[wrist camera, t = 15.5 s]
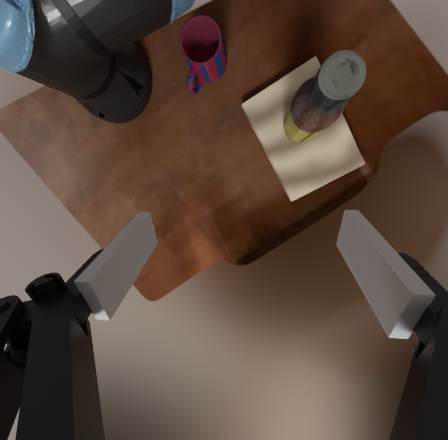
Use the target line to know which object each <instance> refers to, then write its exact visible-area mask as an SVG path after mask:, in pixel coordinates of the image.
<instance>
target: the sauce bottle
mask: <svg viewBox="0 0 448 440" xmlns="http://www.w3.org/2000/svg"><path fill="white" fill-rule="evenodd" d="M365 77H366V65H365V62H364V60H363V59H362V57H361V56H360V55H358V54H357V53H355V52H354V51H349V50H341V51H338V52H335V53H334V54H332V55H331V56H329V57H328V58H327V59H326V60H325V61H324V62H323V64H322V65H321V67H320V68H319V70H318V71H317V74H316V76H314V77H312V78H310V79H308V80H307V81H305V82H304V83H303V84H302V85H301V86H300V87H299V89H298V90H297V91H296V93H295V95H294V97H293V99H292V102H291V104H290V106H289V108H288V111H287V113H286V115H285V117H284V121H283V128H284V132H285V134H286V136H287V137H288V139H290V140H292V141H295V142H305V141H308V140H310V139H312V138H313V137H315V136H316V135H318V134H319V133H321V132H322V131H324V130H325V129H327V128H328V127H329V126H330V125H331V124H333V123H334V122H335V121H336V120H337V119H338V118H339V117H340V115H341V113H342V112H343V110H344V107H345V105H346V104H347V102H348V100H349V99H350V98H351V97H353V96H354V95H355V94H356V93H357V92H358V91H359V89H360V88H361V86H362V85H363V83H364V81H365Z"/></svg>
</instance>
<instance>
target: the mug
mask: <svg viewBox="0 0 448 440" xmlns="http://www.w3.org/2000/svg"><path fill="white" fill-rule="evenodd" d="M179 44H180V49H181V52H182V54H183V56H184V58H185V59H186V61H187V63H188V65H189V67H190V68H191V69H190V71H189V74H188V77H187V88H188V91H189V92H190V93H192V94H196V93H197V92H198V91H199V90H200V88H201V86H202V84H203V82H205V83H211V82H215V81H216V80H218V79H219V78H220V77H221V76H222V75H223V73H224V71H225V69H226V64H227V58H226V53H225V48H224V43H223V39H222V34H221V30H220V27H219V25H218V24H217V22H216V21H215V20H214V19H212V18H211V17H209V16H206V15H196V16H194V17H192V18H190V19H189V20H188V21H187V22H186V23H185V24H184V26H183V28H182V30H181V33H180V38H179ZM194 76H195V77H196V78H197V79H198V80H197V83H196V85H195V87H194V89H193V79H194Z"/></svg>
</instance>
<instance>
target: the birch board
mask: <svg viewBox="0 0 448 440" xmlns="http://www.w3.org/2000/svg"><path fill="white" fill-rule="evenodd" d="M320 67H321V66H320V63H319V61H318V59H317V57H316V56H315V57H313V58H312V59H310V60H309V61H307V62H306V63H304V64H303V65H301V66H300V67H298V68H296V69H295V70H293V71H292V72H290V73H289V74H287V75H286V76H284V77H283V78H281V79H280V80H278V81H276V82H275V83H273V84H272V85H270V86H269V87H267V88H266V89H264V90H263V91H261V92H260V93H258V94H256V95H255V96H253V97H252V98H250V99H249V100H247V101H246V102H244V103H243V104H242V108H243V110H244V112H245V114H246V116H247V118H248V120H249V122H250V124H251V126H252V128H253V130H254V132H255V134H256V135H257V137H258V139H259V141H260V143H261V145H262V147H263V149H264V151H265V153H266V155H267V157H268V159H269V161H270V163H271V165H272V166H273V168H274V170H275V172H276V174H277V176H278V178H279V180H280V182H281V184H282V186H283V188H284V190H285V192H286V194H287V196H288V198H289V199H290V201H294V200H296V199H298V198H300V197H302V196H304V195H306V194H308V193H310V192H311V191H313V190H315V189H317V188H319V187H321V186H323V185H325V184H327V183H329V182H331V181H333V180H335V179H337V178H339V177H341V176H343V175H345V174H346V173H348V172H350V171H352V170H354V169H356V168H358V167H360V166H362V165H364V164H365V162H364V160H363V158H362V156H361V153H360V151H359V149H358V147H357V145H356V142H355V140H354V138H353V136H352V134H351V131H350V129H349V127H348V125H347V123H346V121H345V118H344V116H343V114H342V113H341V115H340V117H339V118H338V119H337V120H336V121H335V122H334V123H333V124H331V125H330V126H329V127H328V128H327V129H325V130H324V131H322V132H321V133H319V134H318V135H316V136H315V137H313V138H312V139H310V140H308V141H305V142H295V141H292V140H290V139H288V137H287V136H286V134H285V132H284V128H283V121H284V117H285V115H286V113H287V111H288V108H289V106H290V104H291V102H292V99H293V97H294V95H295V93H296V91H297V90H298V89H299V87H300V86H301V85H302V84H303V83H304V82H305V81H307V80H308V79H310V78H312V77H314V76H316V74H317V71H318V70H319V68H320Z"/></svg>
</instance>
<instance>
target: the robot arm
mask: <svg viewBox="0 0 448 440" xmlns="http://www.w3.org/2000/svg"><path fill="white" fill-rule="evenodd" d="M194 1H195V0H0V65H1V66H2V67H3V68H5V69H7V70H9V71H12V72H15V73H18V74H20V75H22V76H25V77H27V78H29V79H32V80H34V81H37V82H39V83H42V84H44V85H46V86H49V87H51V88H53V89H56V90H58V91H61V92H63V93H66V94H68V95H70V96H73V97H74V98H75V99H76V100H77V101H78V102H79V103H80V104H81V105H82V106H83V107H84V108H85V109H86V110H87V111H89V112H90V113H91V114H93V115H94V116H96V117H98V118H100V119H103V120H105V121H108V122H111V123H125V122H128V121H131V120H133V119H134V118H136V117H137V116H138V115H140V114H141V112H142V111H143V110H144V109H145V107H146V105H147V103H148V101H149V98H150V95H151V90H152V76H151V71H150V67H149V65H148V62H147V60H146V58H145V57H144V55H143V54H142V52H141V51H140V50H139V49H138V48H137V46H136V45H135V44H134V43H135V42H137V41H138V40H140V39H142V38H144V37H145V36H147V35H149V34H151V33H153V32H154V31H156V30H158V29H160V28H161V27H163V26H165V25H167V24H171V23H172V22H174V20H175V18H177V17H178V16H180V15H181V14H183V13H184V12H186V11H187V10H189V9H190V8H191V6H192V5H193V2H194ZM157 244H158V241H157V237H156V234H155V230H154V226H153V223H152V219H151V215H150V212H139V213H138V214H137V215H136V216H135V217H134V218H133V219H132V220H131V221H130V222H129V223H128V224H127V225H126V227H125V228H124V229H123V230H122V231H121V232H120V233H119V234H118V235H117V236H116V237H115V238H114V239H113V240H112V241H111V242H110V244H109V245H108V246H107V247H106V248H105V249H101V250H99V251H98V252H96V253H95V254H93V255H92V256H91V257H90V258H89V259H88V260H87V262H85V263H84V264H83V265H82V267H81V268H80V269H79V270H77V272H76V273H75V274H74V275H73V276H72V277H71V278H70V279H69V280H68V281H67V282H66V283H65V282H64V280H63V279H62V277H61V276H60V274H58V273H49V274H45V275H43V276H40V277H38V278H36V279H35V280H33V281H32V282H31V283H30V284H29V285H28V286H27V287H26V289H25V291H26V293H27V294H28V295H29V296H30V298H31V299H32V300H30V301H25V302H22V301H21V300H20V298H19V297H18V296H14V295H13V296H7V297H4V298H1V299H0V440H7V439H8V437H9V434H10V431H11V429H12V426H13V423H14V420H15V418H16V415H17V413H18V410H19V407H20V411H19V418H18V425H17V433H16V440H105V437H104V429H103V422H102V414H101V406H100V398H99V391H98V383H97V375H96V367H95V360H94V352H93V344H92V337H91V329H90V323H89V321H88V319H87V318H88V317H89V315H90V314H91V313H93V315H94V317H95V318H96V319H97V320H111V318H112V316H113V315H114V313H115V311H116V310H117V308H118V306H119V305H120V303H121V302H122V300H123V299H124V297H125V295H126V294H127V292H128V290H129V289H130V287H131V286H132V284H133V282H134V281H135V279H136V278H137V276H138V274H139V273H140V271H141V270H142V268H143V266H144V265H145V263H146V261H147V260H148V258H149V257H150V255H151V253H152V252H153V250H154V249H155V247H156V245H157ZM336 245H337V247H338V249H339V251H340V252H341V254H342V256H343V258H344V260H345V261H346V263H347V265H348V267H349V268H350V270H351V272H352V274H353V275H354V277H355V279H356V280H357V282H358V284H359V286H360V288H361V290H362V291H363V293H364V295H365V297H366V299H367V300H368V302H369V304H370V306H371V307H372V309H373V311H374V313H375V315H376V316H377V318H378V320H379V322H380V323H381V325H382V327H383V329H384V330H385V332H386V334H387V336H388V337H389V338H402V339H408V338H409V336H410V335H411V333H412V332H413V330H414V331H415V333H416V334H417V336H418V337H419V341H418V342H417V344H416V345H415V347H414V348H413V350H412V351H411V353H410V354H411V355H412V356H413V358H412V361H411V365H410V368H409V372H408V376H407V379H406V382H405V386H404V389H403V393H402V396H401V400H400V403H399V407H398V410H397V414H396V417H395V421H394V424H393V428H392V431H391V435H390V439H389V440H448V292H447V291H446V290H445V289H444V288H443V287H442V286H441V285H440V284H439V283H438V282H437V281H436V280H435V279H434V278H433V277H431V276H430V274H429V273H428V272H427V271H426V270H424V268H423V267H422V266H421V265H420V264H419V263H418V262H417V261H416V260H415V259H413V258H412V257H410V256H408V255H407V254H405V253H397V252H396V251H395V250H394V249H393V248H392V247H391V246H390V245H389V244H388V242H387V241H386V240H385V239H384V238H383V237H382V236H381V235H380V234H379V233H378V232H377V230H376V229H375V228H374V227H373V226H372V225H371V224H370V223H369V222H368V221H367V220H366V218H365V217H364V216H363V215H362V214H361V213H360V212H359V211H358V210H345V212H344V216H343V220H342V224H341V228H340V232H339V236H338V240H337V244H336ZM5 344H7V348H6V349H5V351H4V346H5Z"/></svg>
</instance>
